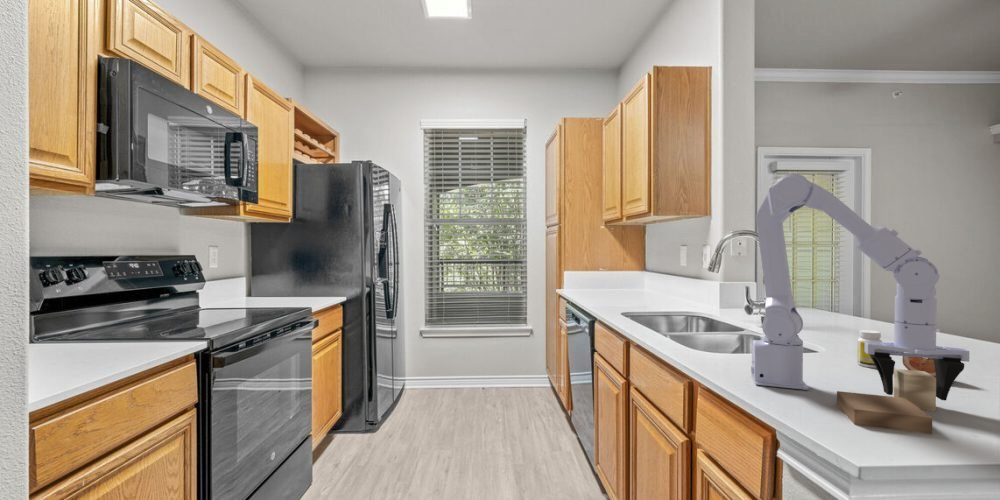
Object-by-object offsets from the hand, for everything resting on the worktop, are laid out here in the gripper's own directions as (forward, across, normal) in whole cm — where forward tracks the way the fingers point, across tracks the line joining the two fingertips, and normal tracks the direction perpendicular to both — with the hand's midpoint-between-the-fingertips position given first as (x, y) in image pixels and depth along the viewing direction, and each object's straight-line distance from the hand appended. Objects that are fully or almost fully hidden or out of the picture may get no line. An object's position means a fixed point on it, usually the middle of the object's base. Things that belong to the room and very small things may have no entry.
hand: (914, 395), depth 84 cm
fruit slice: (+2, +10, +22) cm, 24 cm away
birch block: (+2, 0, 0) cm, 2 cm away
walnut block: (+2, -8, -10) cm, 13 cm away
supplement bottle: (+2, +2, +30) cm, 30 cm away
